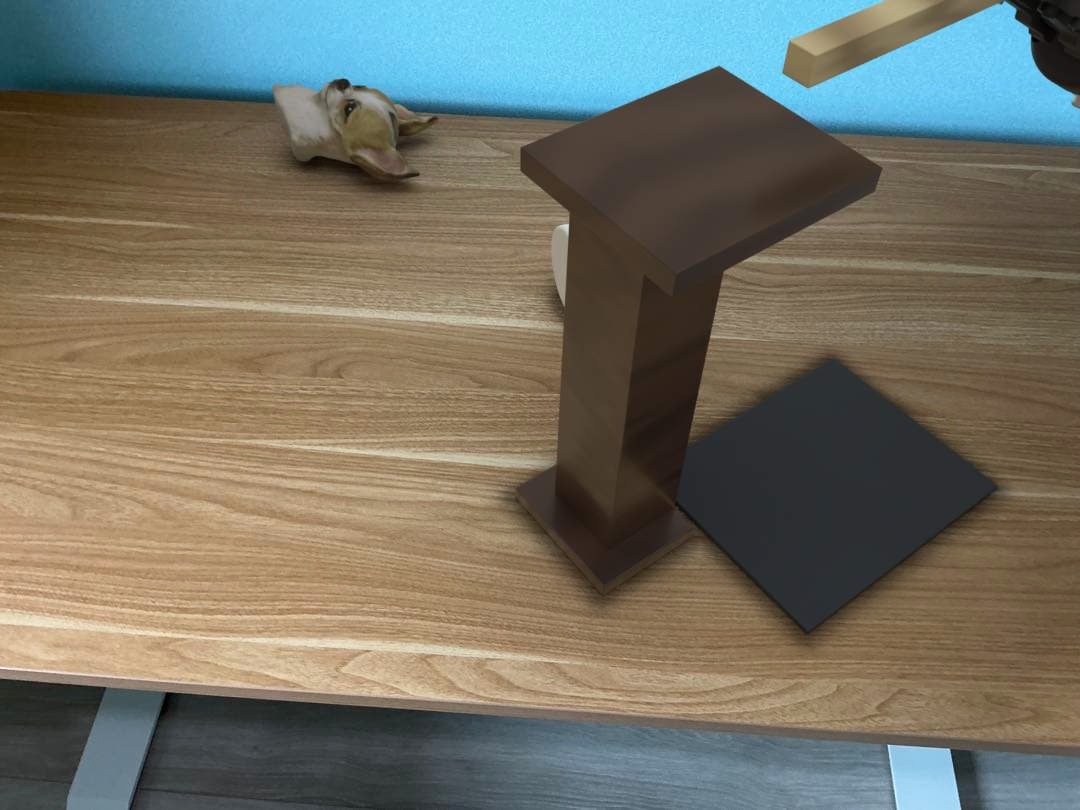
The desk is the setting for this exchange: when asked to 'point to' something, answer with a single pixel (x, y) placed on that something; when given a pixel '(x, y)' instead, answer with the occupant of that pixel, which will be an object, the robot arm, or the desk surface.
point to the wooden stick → (870, 36)
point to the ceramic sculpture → (349, 126)
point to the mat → (824, 491)
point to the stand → (660, 291)
